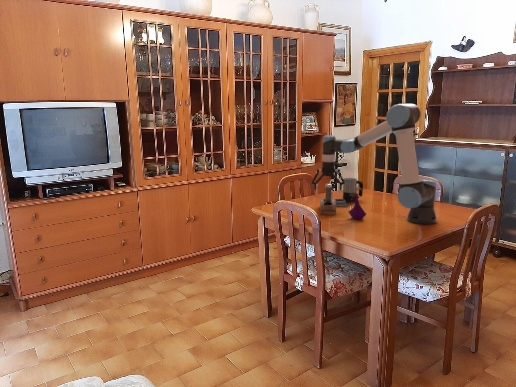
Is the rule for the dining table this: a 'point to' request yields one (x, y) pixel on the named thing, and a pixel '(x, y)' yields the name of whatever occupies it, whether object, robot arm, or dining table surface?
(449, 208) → the dining table surface
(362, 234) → the dining table surface
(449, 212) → the dining table surface
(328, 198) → the black peg
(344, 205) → the socket block
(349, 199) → the milk frother
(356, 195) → the perfume bottle
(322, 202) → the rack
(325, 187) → the steel peg
